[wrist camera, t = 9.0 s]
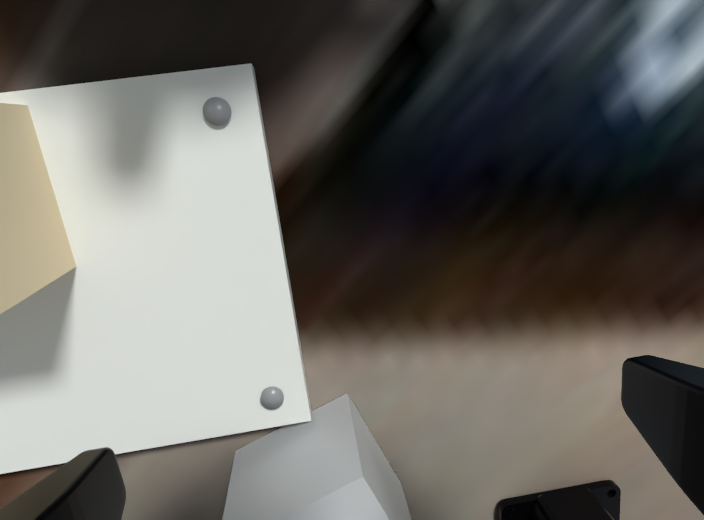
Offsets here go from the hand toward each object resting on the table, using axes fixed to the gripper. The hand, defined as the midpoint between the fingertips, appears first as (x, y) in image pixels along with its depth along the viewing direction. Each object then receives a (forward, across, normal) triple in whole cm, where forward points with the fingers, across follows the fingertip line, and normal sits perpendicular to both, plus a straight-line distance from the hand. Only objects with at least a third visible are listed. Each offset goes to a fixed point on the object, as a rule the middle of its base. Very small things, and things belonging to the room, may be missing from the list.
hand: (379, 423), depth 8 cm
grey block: (+13, +2, +11) cm, 17 cm away
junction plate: (+13, +11, 0) cm, 17 cm away
